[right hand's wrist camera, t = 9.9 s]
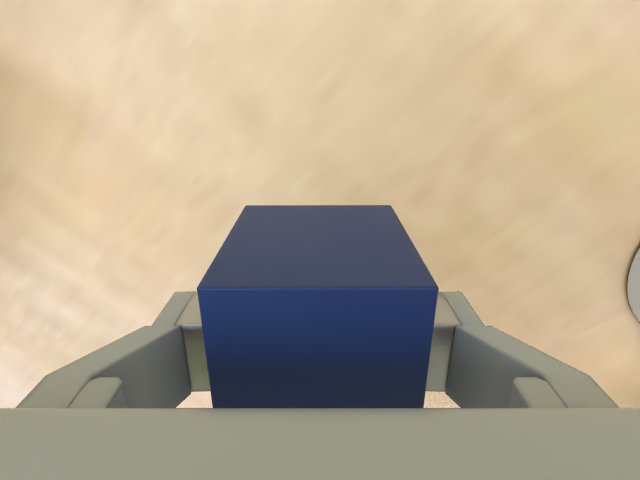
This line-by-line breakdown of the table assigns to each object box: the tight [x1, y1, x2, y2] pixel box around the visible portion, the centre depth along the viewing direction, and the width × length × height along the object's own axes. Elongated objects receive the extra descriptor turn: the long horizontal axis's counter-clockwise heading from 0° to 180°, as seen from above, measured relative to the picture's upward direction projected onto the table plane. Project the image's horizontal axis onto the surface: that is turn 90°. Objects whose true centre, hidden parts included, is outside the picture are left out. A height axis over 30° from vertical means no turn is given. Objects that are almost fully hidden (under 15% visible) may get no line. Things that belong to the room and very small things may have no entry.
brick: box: [197, 205, 438, 408], centre depth 10 cm, size 5×4×5 cm
